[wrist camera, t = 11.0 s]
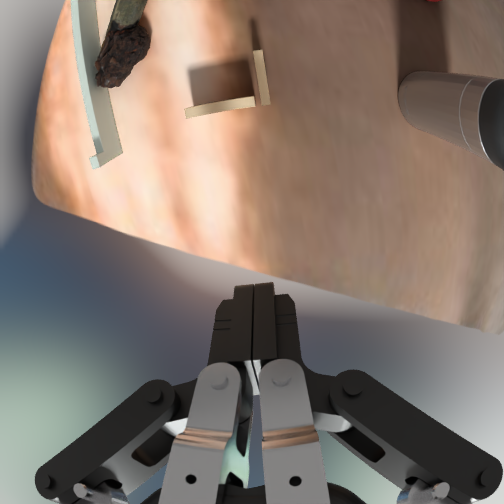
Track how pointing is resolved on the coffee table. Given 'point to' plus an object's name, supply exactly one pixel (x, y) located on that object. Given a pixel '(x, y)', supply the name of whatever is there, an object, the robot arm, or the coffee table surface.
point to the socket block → (237, 102)
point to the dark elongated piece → (122, 44)
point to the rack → (93, 83)
